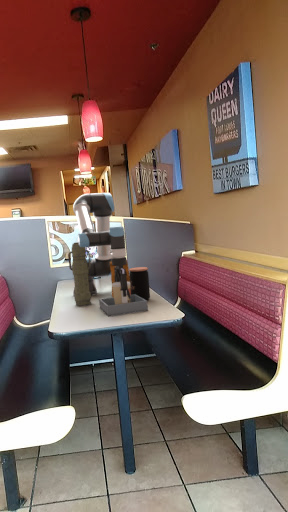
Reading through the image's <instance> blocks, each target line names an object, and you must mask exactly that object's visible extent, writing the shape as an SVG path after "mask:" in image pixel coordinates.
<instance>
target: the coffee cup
mask: <svg viewBox="0 0 288 512" xmlns="http://www.w3.org/2000/svg"><path fill="white" fill-rule="evenodd" d="M112 286H113V294H114V300H115V305H118V304H125V303H122V297H121V291H120V289H121V284H120V282H114V283H113V285H112V284H111V287H112ZM127 286H128V289H127V301H128V303H131V302H130V282H128V281H127Z"/></svg>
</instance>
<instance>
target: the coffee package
mask: <svg viewBox="0 0 288 512" xmlns="http://www.w3.org/2000/svg"><path fill="white" fill-rule="evenodd" d="M114 267H116V266H113V265H112V262H110V268H111V276H110V279H111V281H110V282H111V298H112V297H114V294H113V286H112V285H113V283H114V282H115V271H114ZM123 268H124V269H126V279H127V281H128V282H130V276H129V273H130V271H129V269H130V268H129V262H128V260H127V264H126V265H123ZM130 295H131V289H130Z"/></svg>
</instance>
